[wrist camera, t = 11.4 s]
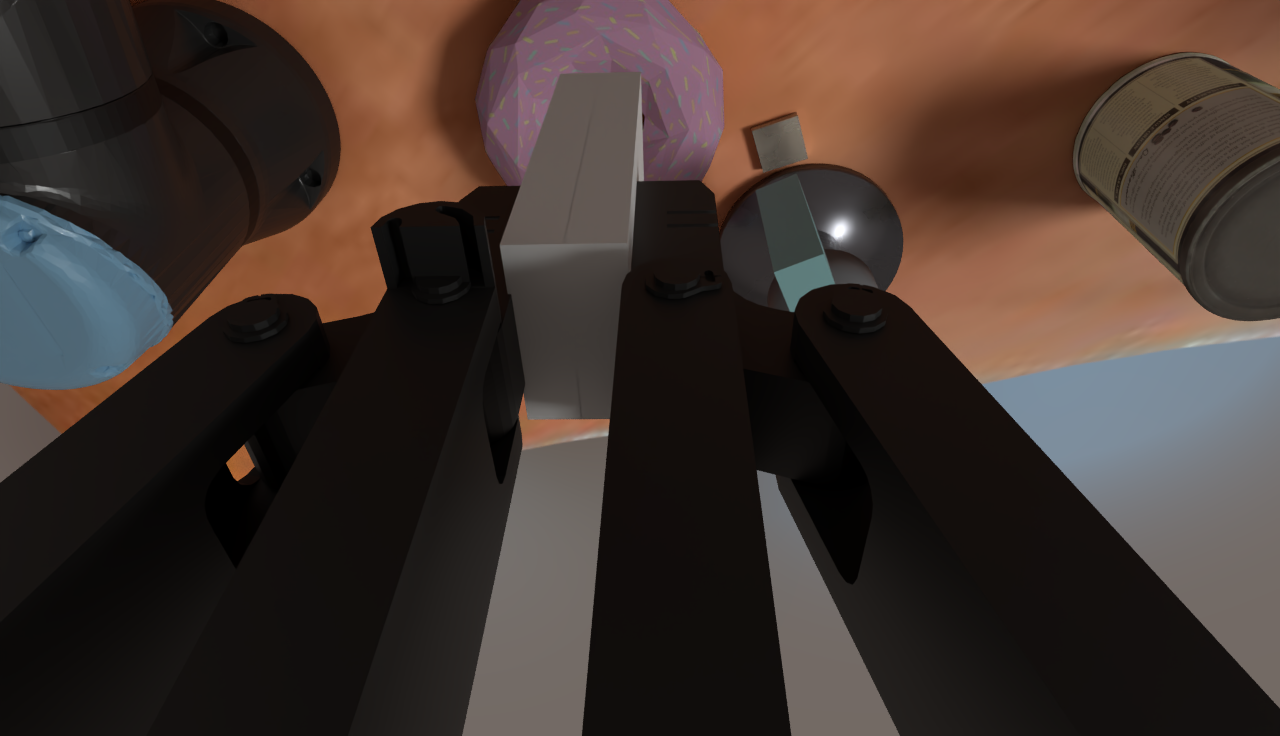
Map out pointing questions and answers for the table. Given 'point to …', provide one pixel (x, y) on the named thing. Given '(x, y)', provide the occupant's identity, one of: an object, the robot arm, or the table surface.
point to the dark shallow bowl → (838, 204)
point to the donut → (603, 43)
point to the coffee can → (1193, 176)
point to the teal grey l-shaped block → (801, 248)
